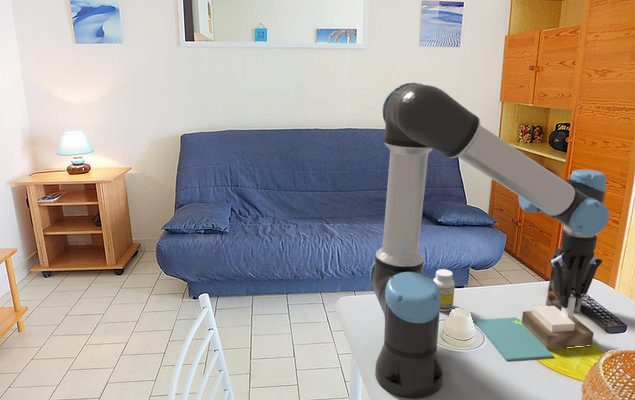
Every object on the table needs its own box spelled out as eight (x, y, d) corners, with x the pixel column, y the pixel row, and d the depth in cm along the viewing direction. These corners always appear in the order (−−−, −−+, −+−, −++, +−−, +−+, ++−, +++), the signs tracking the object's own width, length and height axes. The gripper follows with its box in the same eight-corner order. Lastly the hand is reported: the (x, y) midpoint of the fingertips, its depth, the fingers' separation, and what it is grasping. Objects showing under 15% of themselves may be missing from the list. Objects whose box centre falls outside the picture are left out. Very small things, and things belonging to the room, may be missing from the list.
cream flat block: (551, 332, 118) (552, 325, 118) (532, 313, 127) (533, 307, 126) (573, 330, 119) (575, 323, 118) (553, 312, 128) (554, 305, 127)
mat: (506, 360, 114) (506, 358, 114) (474, 321, 131) (474, 319, 131) (553, 357, 115) (553, 355, 115) (515, 318, 132) (515, 317, 132)
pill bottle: (435, 299, 143) (437, 266, 140) (455, 305, 140) (458, 271, 137) (428, 308, 138) (430, 274, 135) (448, 314, 135) (451, 279, 132)
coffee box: (544, 305, 140) (552, 254, 135) (547, 296, 145) (554, 247, 140) (580, 313, 135) (588, 261, 130) (581, 304, 140) (590, 253, 135)
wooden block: (546, 350, 118) (548, 335, 117) (521, 324, 129) (522, 311, 128) (591, 346, 119) (593, 332, 118) (562, 321, 131) (564, 308, 129)
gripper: (564, 239, 112) (551, 327, 119) (615, 237, 114) (599, 324, 120) (546, 228, 119) (534, 312, 126) (594, 226, 121) (580, 309, 127)
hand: (566, 317), depth 123 cm, fingers closed
